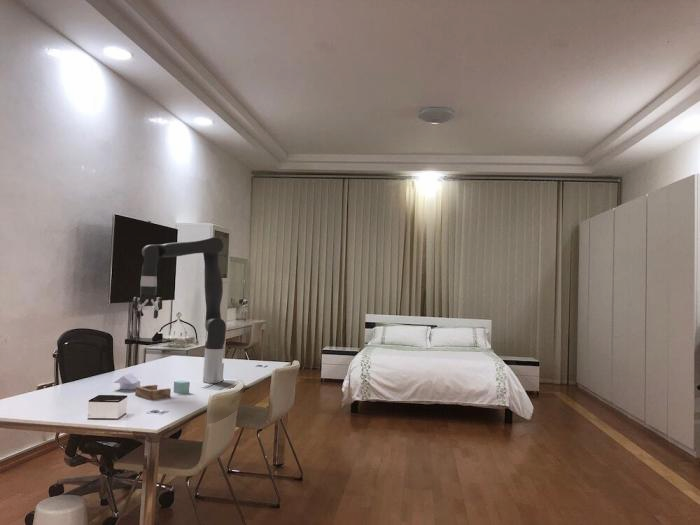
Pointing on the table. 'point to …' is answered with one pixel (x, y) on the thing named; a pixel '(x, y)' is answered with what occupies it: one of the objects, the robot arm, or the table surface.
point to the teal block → (181, 387)
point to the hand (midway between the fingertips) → (146, 318)
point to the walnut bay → (152, 392)
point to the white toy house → (128, 382)
